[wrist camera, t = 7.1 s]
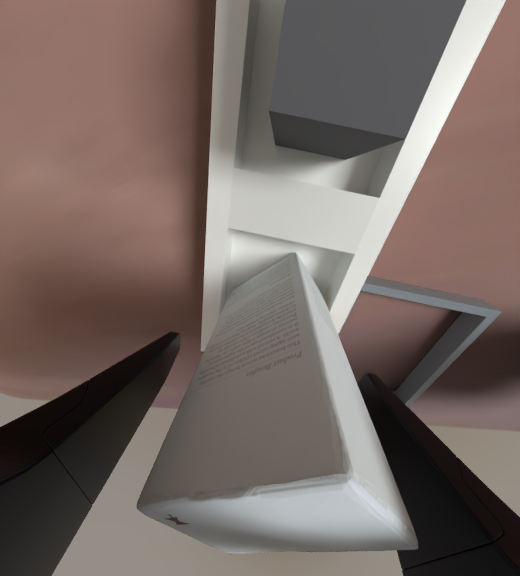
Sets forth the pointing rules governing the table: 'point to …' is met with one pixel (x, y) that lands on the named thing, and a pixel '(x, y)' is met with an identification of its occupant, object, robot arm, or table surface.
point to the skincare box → (276, 435)
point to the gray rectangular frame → (453, 340)
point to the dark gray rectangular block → (355, 71)
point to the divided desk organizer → (307, 166)
